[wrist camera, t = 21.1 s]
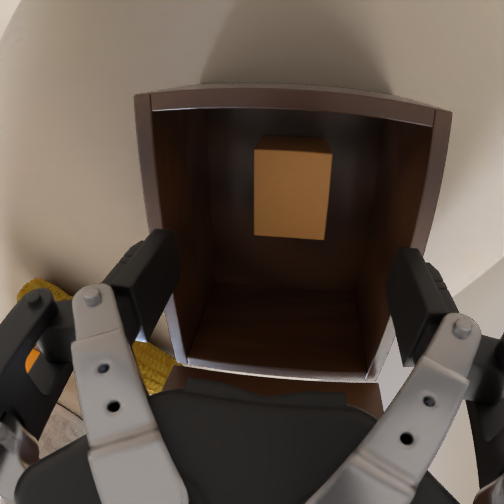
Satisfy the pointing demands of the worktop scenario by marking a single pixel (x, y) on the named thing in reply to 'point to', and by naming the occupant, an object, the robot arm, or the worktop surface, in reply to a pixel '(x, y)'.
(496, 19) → the worktop surface
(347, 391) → the bread lid
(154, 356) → the food
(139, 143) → the bin
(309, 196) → the tan cuboid
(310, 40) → the worktop surface
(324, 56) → the worktop surface
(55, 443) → the grey jug
